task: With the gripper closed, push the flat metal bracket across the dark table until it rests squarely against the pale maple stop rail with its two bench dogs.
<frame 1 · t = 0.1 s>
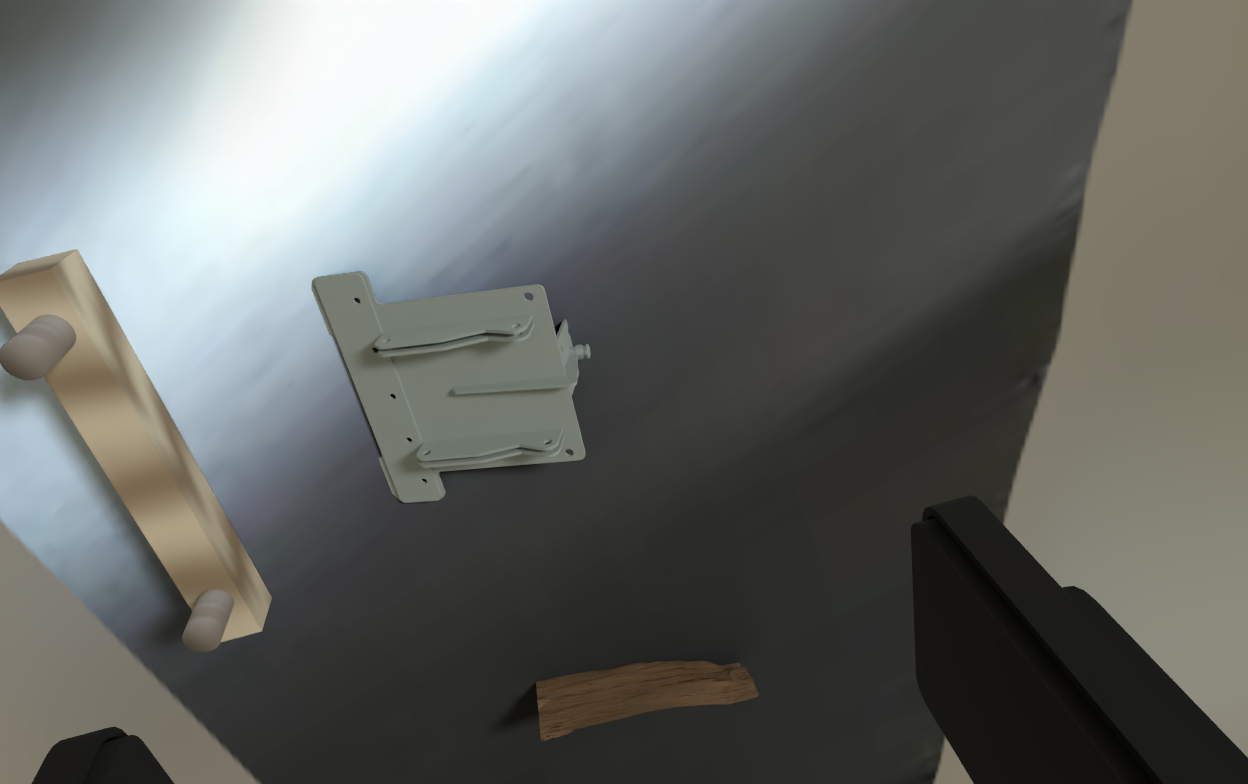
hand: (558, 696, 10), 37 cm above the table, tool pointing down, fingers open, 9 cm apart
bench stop: (160, 451, 47), on the table
wood plank: (638, 665, 62), on the table
metal bracket: (465, 367, 49), on the table
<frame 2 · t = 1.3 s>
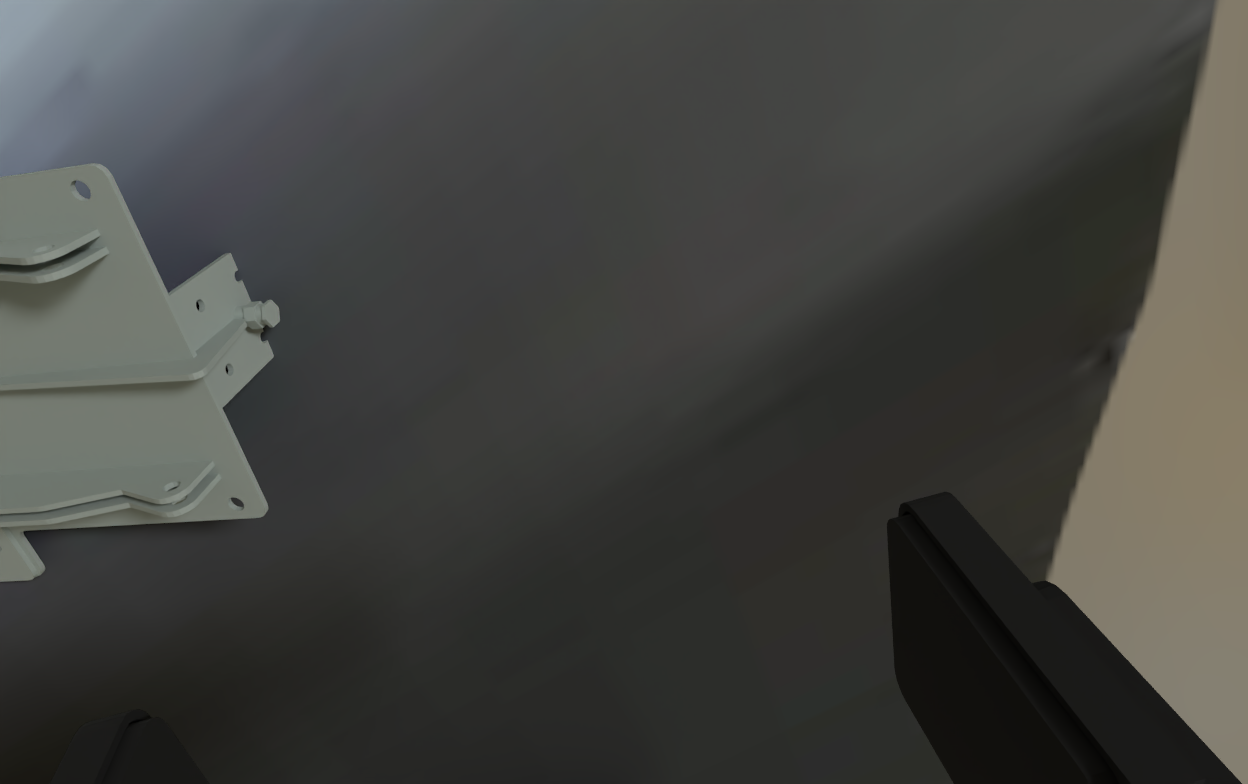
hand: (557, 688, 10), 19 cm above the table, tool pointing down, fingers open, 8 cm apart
metal bracket: (54, 341, 26), on the table
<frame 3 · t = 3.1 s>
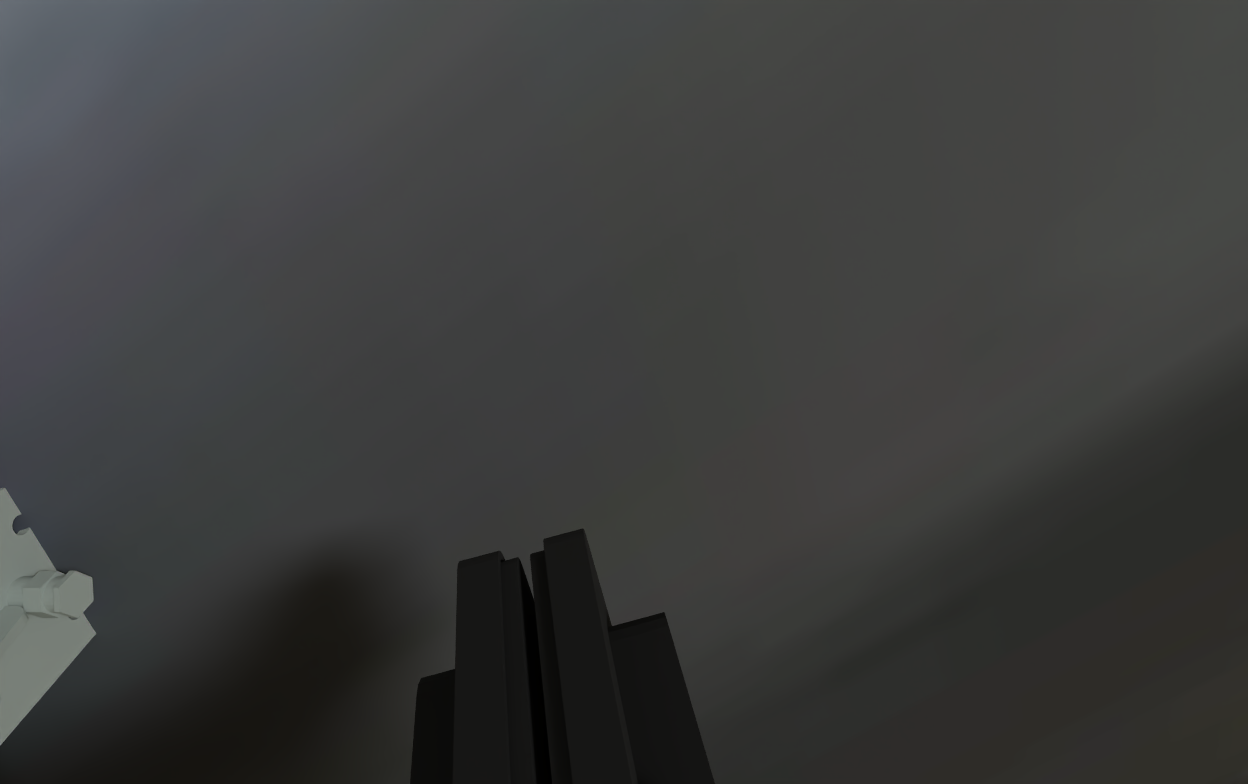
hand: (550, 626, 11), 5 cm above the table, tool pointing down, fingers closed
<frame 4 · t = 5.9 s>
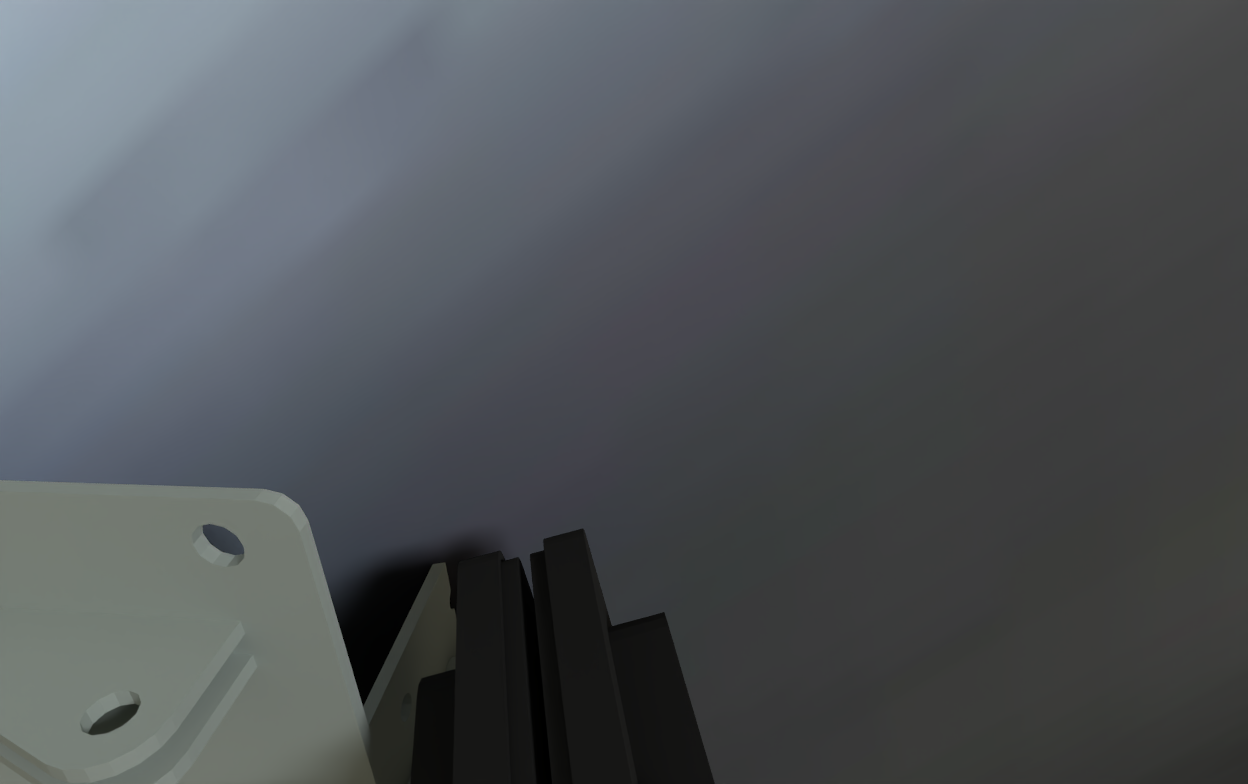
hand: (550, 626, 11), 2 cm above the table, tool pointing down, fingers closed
metal bracket: (64, 675, 13), on the table
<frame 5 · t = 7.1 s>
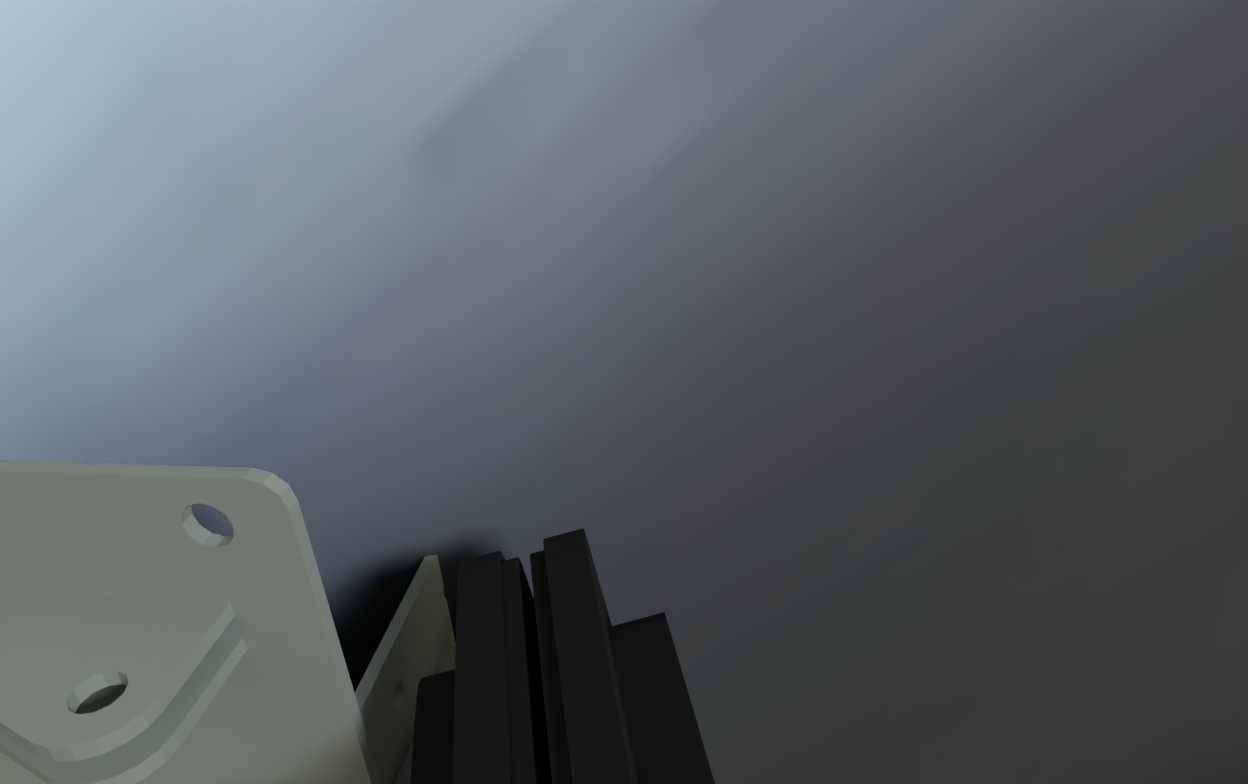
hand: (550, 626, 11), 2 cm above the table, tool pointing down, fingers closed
metal bracket: (56, 665, 13), on the table
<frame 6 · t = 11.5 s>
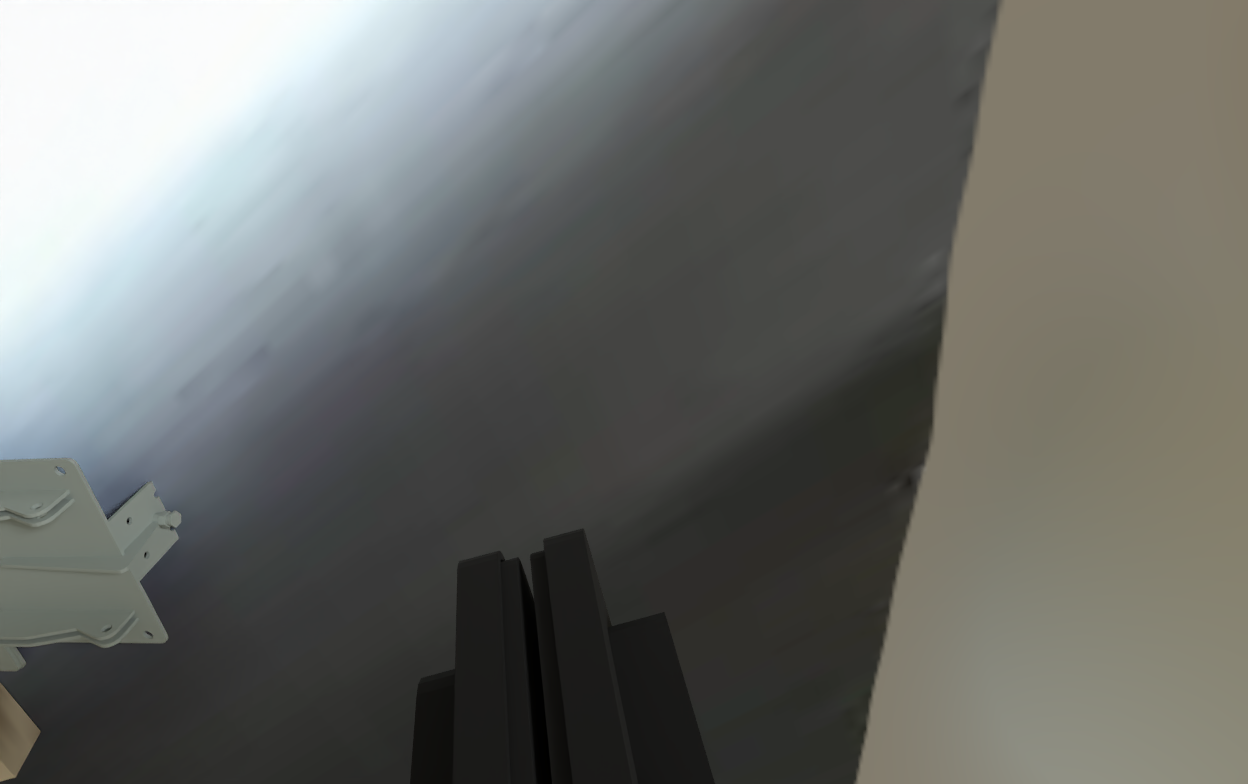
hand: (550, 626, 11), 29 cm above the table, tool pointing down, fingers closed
metal bracket: (40, 526, 42), on the table
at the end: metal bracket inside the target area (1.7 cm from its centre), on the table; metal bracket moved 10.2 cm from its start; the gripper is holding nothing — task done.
